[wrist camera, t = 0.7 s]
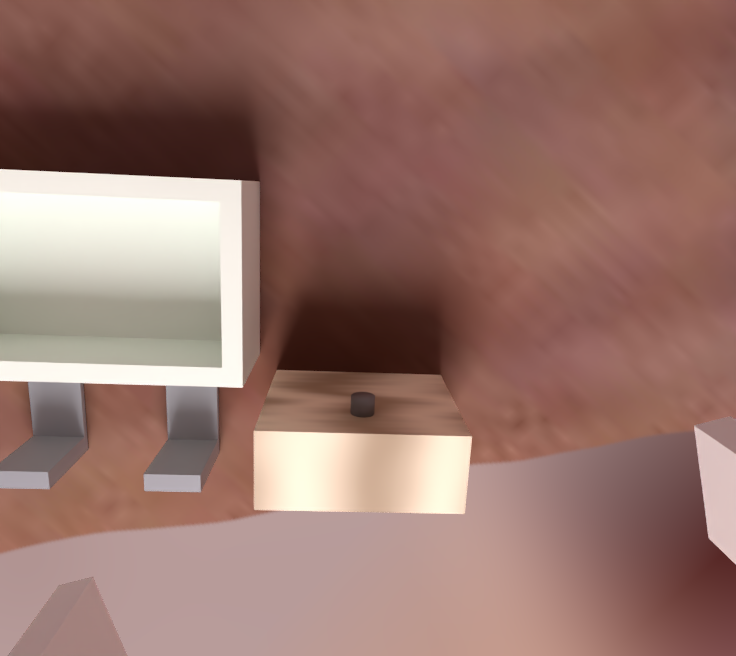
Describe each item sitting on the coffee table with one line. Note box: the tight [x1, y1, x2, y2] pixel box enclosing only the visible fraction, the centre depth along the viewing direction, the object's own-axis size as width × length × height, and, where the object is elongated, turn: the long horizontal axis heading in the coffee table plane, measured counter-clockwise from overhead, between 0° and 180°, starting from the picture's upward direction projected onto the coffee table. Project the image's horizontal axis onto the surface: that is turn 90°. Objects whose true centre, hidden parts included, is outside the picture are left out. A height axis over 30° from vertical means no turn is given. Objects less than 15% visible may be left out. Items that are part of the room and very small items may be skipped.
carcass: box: [0, 169, 260, 492], centre depth 31 cm, size 16×16×6 cm
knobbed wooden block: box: [254, 370, 472, 514], centre depth 31 cm, size 10×5×9 cm, turn 87°
